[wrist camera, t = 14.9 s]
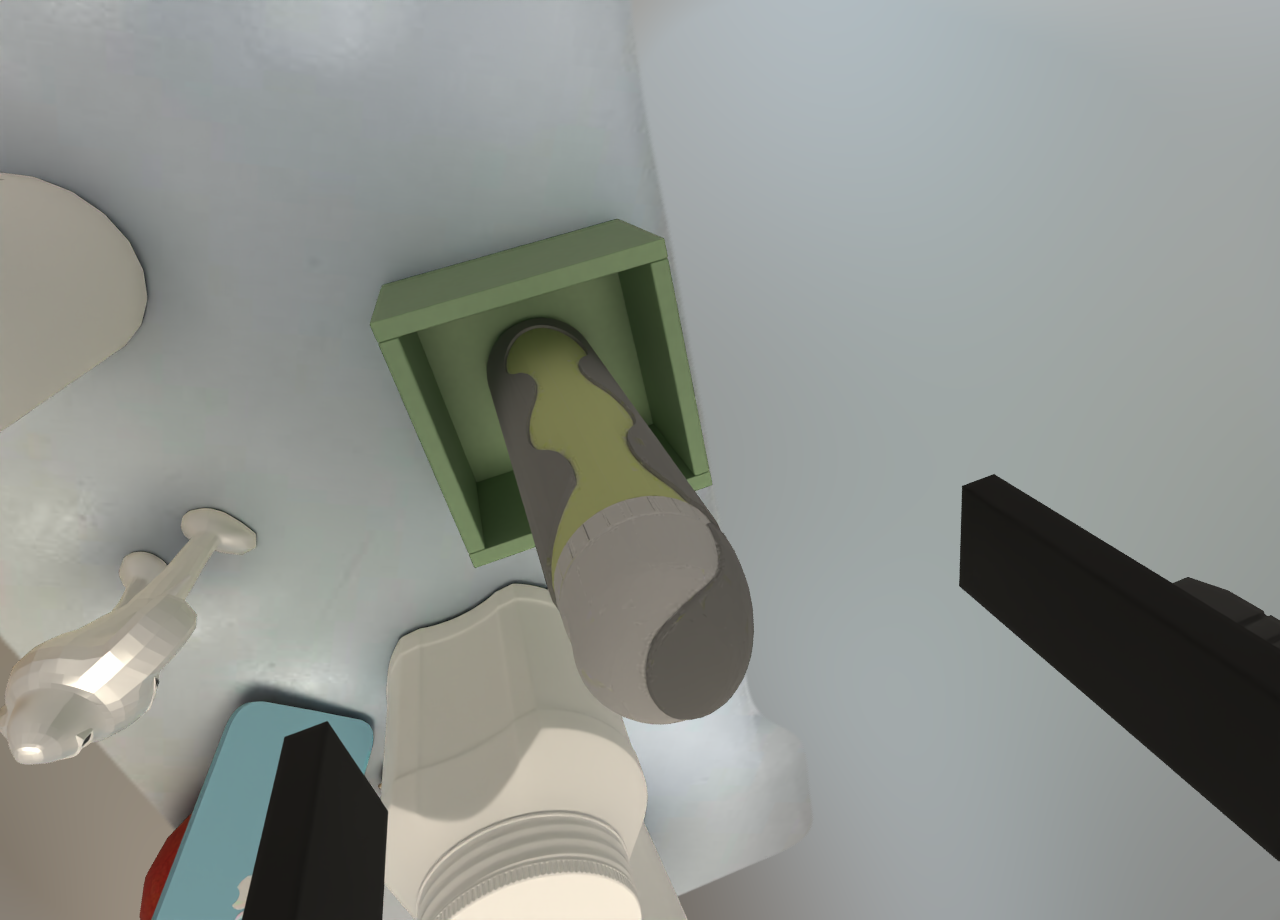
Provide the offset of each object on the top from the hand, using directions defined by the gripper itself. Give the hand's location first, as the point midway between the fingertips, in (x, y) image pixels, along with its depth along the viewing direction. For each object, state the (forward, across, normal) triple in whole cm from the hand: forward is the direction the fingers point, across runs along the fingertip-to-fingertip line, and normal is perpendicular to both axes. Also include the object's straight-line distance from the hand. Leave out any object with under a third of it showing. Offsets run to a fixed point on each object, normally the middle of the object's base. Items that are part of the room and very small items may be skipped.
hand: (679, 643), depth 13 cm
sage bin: (+20, 0, 0) cm, 20 cm away
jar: (+20, -7, -17) cm, 27 cm away
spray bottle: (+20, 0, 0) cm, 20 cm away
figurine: (+20, -18, -4) cm, 27 cm away
